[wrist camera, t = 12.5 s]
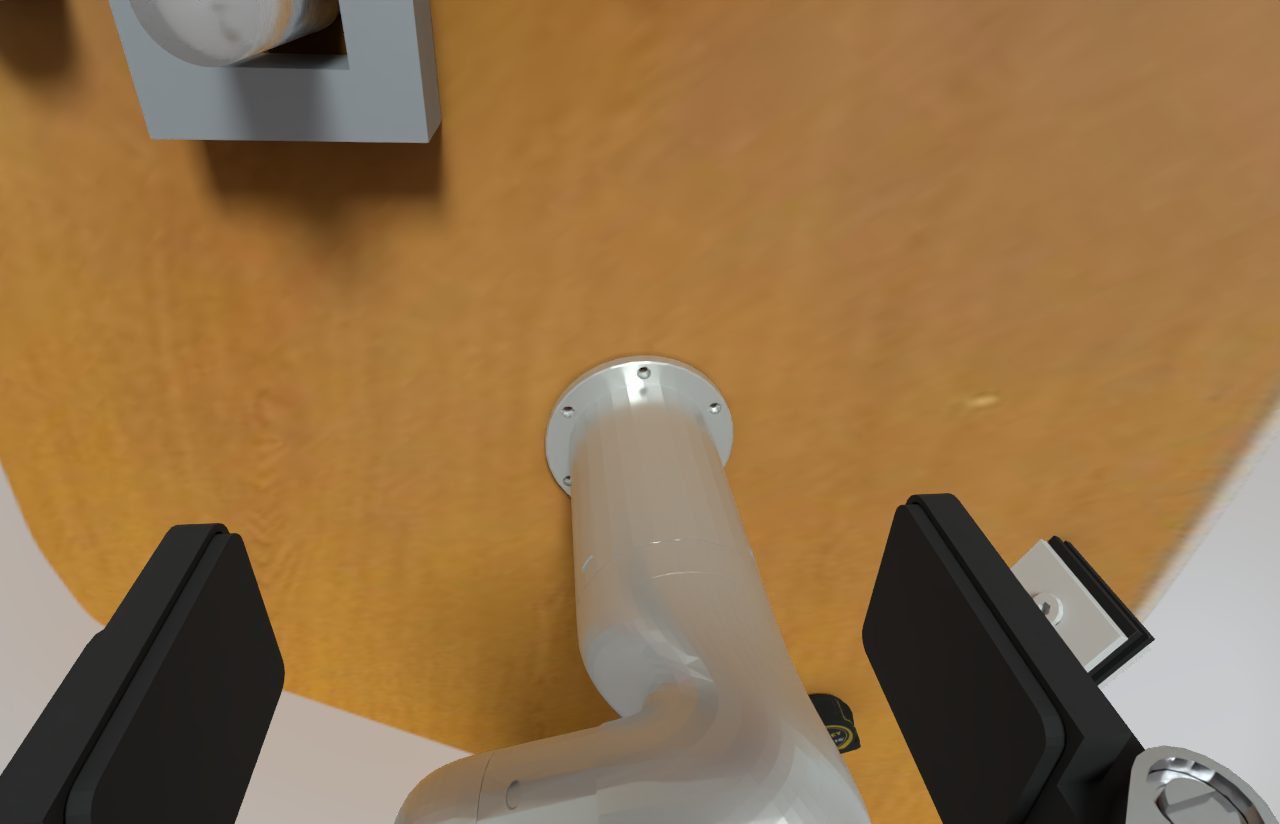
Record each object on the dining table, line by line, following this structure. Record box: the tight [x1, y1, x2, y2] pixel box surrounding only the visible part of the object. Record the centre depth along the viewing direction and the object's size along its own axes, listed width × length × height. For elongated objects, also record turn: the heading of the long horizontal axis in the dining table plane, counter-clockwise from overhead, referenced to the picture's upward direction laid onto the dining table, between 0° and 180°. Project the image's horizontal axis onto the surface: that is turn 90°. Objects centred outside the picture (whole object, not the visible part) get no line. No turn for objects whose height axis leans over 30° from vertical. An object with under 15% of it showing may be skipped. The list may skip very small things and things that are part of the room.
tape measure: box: [809, 694, 861, 754], centre depth 67 cm, size 7×7×4 cm
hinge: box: [1010, 536, 1155, 690], centre depth 59 cm, size 14×5×10 cm, turn 164°
